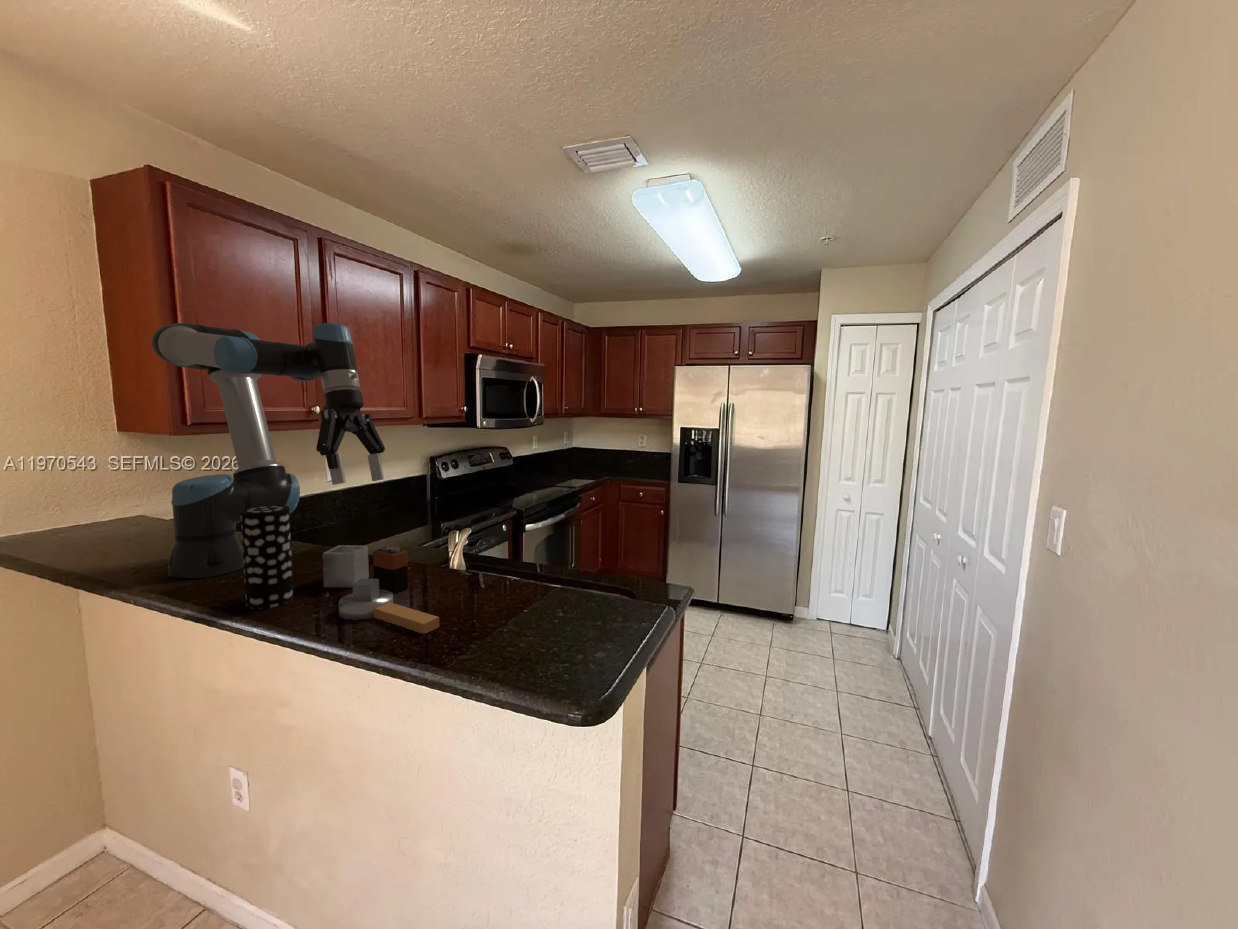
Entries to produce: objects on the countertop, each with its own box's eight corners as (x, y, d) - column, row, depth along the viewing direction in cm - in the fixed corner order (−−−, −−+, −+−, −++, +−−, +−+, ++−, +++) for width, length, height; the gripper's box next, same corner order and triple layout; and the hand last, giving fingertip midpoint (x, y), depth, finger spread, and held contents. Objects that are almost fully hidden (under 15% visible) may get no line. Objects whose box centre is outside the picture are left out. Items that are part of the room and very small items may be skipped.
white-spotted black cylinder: (289, 591, 110) (284, 503, 108) (297, 602, 104) (293, 510, 102) (243, 600, 104) (237, 508, 102) (249, 612, 98) (243, 515, 96)
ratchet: (328, 613, 99) (327, 584, 98) (372, 597, 108) (372, 570, 107) (409, 641, 88) (408, 609, 87) (451, 620, 97) (451, 591, 96)
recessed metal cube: (323, 587, 113) (322, 553, 112) (339, 576, 120) (338, 545, 119) (354, 587, 113) (353, 553, 112) (368, 577, 120) (367, 545, 119)
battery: (392, 594, 110) (391, 551, 108) (373, 588, 113) (371, 546, 112) (409, 588, 113) (408, 546, 112) (389, 583, 117) (388, 542, 115)
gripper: (317, 380, 100) (336, 482, 100) (390, 394, 125) (405, 476, 124) (284, 387, 101) (303, 488, 101) (363, 400, 126) (378, 481, 125)
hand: (359, 482), depth 113 cm, fingers open, 13 cm apart
